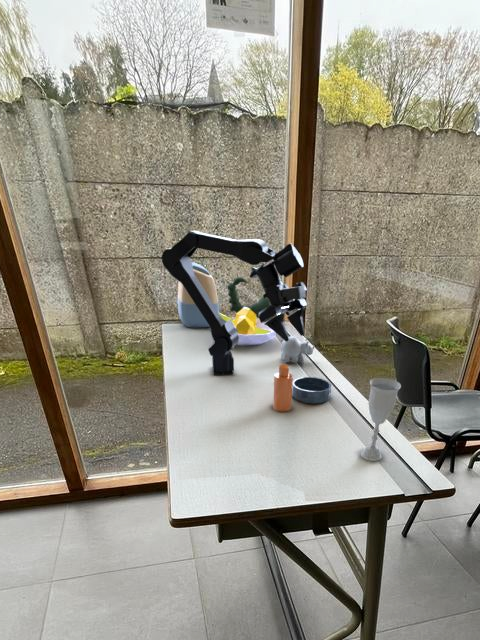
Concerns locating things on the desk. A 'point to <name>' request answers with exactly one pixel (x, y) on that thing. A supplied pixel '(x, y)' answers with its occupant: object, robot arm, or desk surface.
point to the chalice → (380, 410)
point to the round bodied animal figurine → (295, 349)
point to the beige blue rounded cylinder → (185, 303)
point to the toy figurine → (237, 305)
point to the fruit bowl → (250, 328)
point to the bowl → (311, 390)
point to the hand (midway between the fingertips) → (295, 338)
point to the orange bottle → (282, 389)
